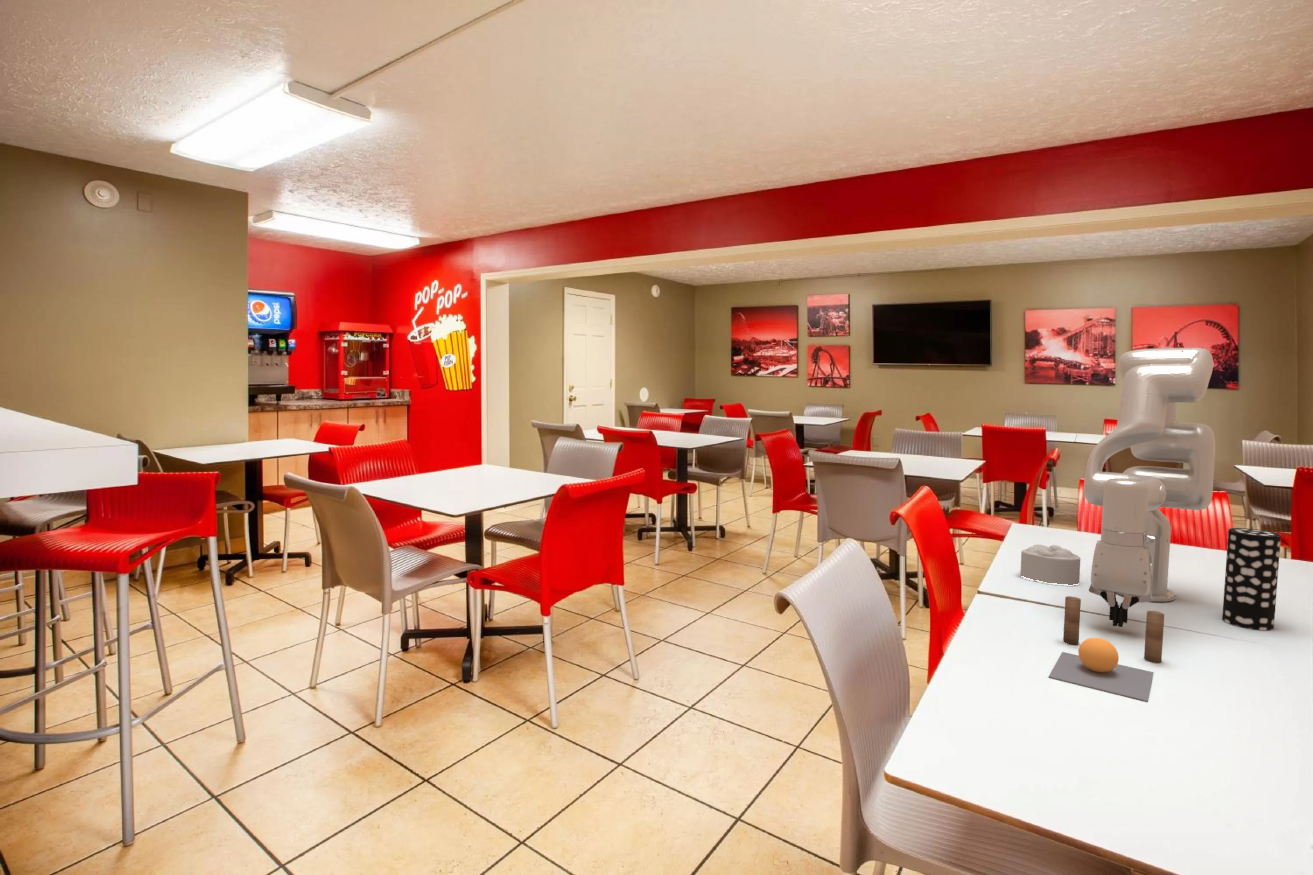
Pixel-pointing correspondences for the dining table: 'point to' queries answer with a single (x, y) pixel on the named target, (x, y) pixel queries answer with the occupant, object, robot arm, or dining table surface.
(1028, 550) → the lumpy-topped squat cylinder
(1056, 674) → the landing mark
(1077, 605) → the post
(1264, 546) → the white-spotted black cylinder
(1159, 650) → the post
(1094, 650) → the ball
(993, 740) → the dining table surface
